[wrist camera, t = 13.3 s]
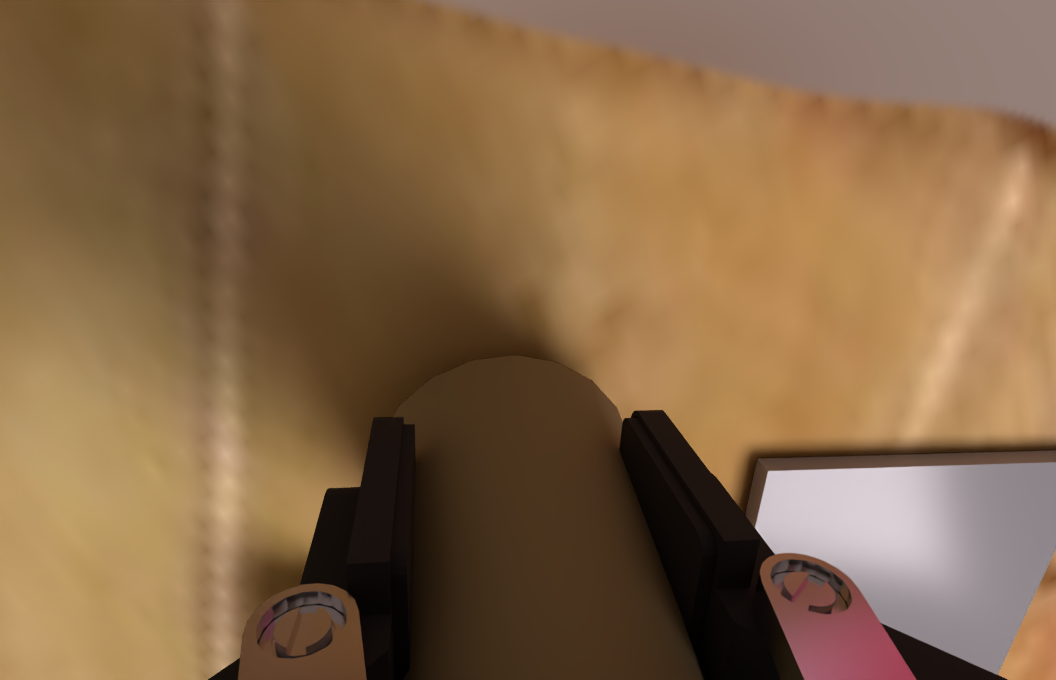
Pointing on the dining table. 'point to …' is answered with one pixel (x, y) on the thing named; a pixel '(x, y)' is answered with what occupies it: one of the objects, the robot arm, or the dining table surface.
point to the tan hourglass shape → (532, 535)
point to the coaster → (922, 536)
